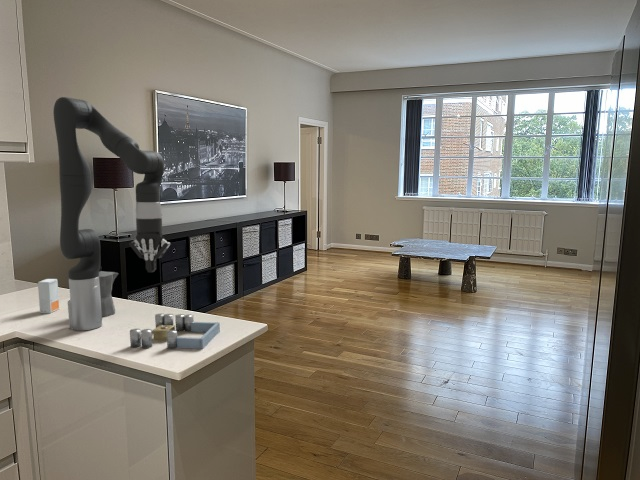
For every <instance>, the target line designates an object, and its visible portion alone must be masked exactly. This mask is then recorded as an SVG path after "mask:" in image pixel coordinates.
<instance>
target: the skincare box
mask: <svg viewBox="0 0 640 480" xmlns="http://www.w3.org/2000/svg"><path fill="white" fill-rule="evenodd" d="M37 288H38V289H37V290H38V303H39V313H40V314H51V313H54V312H55V311H58V310H60V299H59V297H60V296H59V283H58V278H45V279H43V280H41V281H38V282H37Z"/></svg>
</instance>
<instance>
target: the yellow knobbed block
mask: <svg viewBox="0 0 640 480" xmlns="http://www.w3.org/2000/svg"><path fill="white" fill-rule="evenodd" d="M169 330H176V324H175V325H159V326H158V327H157V328H156V327H155V328H154V329H153V330H152V333H153V334H152V336H153V341H155V342H157V341H158V342H159V341H160V342H162V341H163V342H165V341H166V342H167V331H169Z"/></svg>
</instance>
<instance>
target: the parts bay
mask: <svg viewBox="0 0 640 480" xmlns="http://www.w3.org/2000/svg"><path fill="white" fill-rule="evenodd" d="M220 325H221V324H220V322H213V321H194V322H191V332H195V333H196V332H198V333H199V332H200V333H204V334H203V335H202V336H201V337H187V336H185V337H184V336H177V348H178V349H198V350H199V349H200V350H203V349H205V348H206V346H207V345H208V344H209V343H210V342H211V341H212V340H213V339H214V338H215V337H216V336H217V335H218V334H219V333H220V332H221V331H220V327H221V326H220ZM177 348H176V349H177Z"/></svg>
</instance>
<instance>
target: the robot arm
mask: <svg viewBox="0 0 640 480" xmlns="http://www.w3.org/2000/svg"><path fill="white" fill-rule="evenodd" d="M53 105H54V106H53V114H52V115H53V122H54V128H55V134H56V136H55V137H56V141H57V143H56V144H57V151H58V165H59V169H58V172H59V176H58V177H59V191H60V211H61V212H60V231H59V233H60V234H59V247H60V251H61V253H62V255H63V256H64V258H66V259H68V260H75V259H79V261H78V262H77V264H75V266H73V267H71V268H70V269H69V270H68V273H67V274H68V275H67V276H68V287H69V289H68V290H69V297H70V299H69V300H67V311H68V313H67V315H68V327H69V329H71V330H75V331H88V330H89V331H90V330H95V329H98V328H100V327H102V326H103V317H102V312H101V297H100V282H99V270H100V266H101V240H100V237H99V235H98V233H97V232H96V231H95V230H94V229H92V228H84V229H79V223H80V217H81V214H82V211H83V209H84V207H85V206H86V204H87V203H88V199H89V197H90V195H91V194H92V189H93V187H92V186H93V185H92V171H91V168H90V165H89V163H88V161H87V159H86V158H85V156H84V154H83V152H82V151H81V149H80V147H79V145H78V144H79V143H78V139H77V129H78V130H81V129H82V130H87V131H89V132H91V133H94V134H95V135H96V136H97V137H99V139H100V141H101V143H102V145H103V147H104V148H106V149H107V150H108V151H109V152H111V153H112V154H114V155H115V156H117V157H118V158H120V159H121V161H122V162H123V163H124V165H125V166H126V168H128V169H129V170H130V171H131V172H133V173H134V174H138V175H144V177H143V180H142V181H141V182H138V183H137V184H136V185H135V223H136V225H135V226H136V235H135V239H134V240H133V241H131V242H129V246H130V248H131V249H132V250H133V251H134V253H135V254H136V255H137V256H138V258H139V259H143V260H144V261H145V270H146V271H147V273H154V272H155V271H156V270H157V259H161V258H163V256H164V254H165V253H166V252H167V250H168V249H169V247H170V246H171V245H172V243H171V242H170V241H167V240H166V239H165V236H164V234H163V217H162V216H163V210H162V205H161V190H160V189H161V184H162V180H163V175H164V170H165V161H164V159H163V158H164V157H162V155H161V153H159V152H157V151H155V150H141V149H140V145H139V144H138V142H137V141H136V140H134V139H133V138H132V137H131V136H129V135H128V134H126V133H125V132H123V131H122V130H120V129H119V128H117V127H116V126H114V124H112V123H111V121H109V120H108V119H107V118H106V117H105V116H104V115H103V114H102V113H101V112H100V111H98V109H97V108H95V107H94V106H93V104H91V103H90V102H89V101H87V100H84V99H78V98H72V97H65V96H64V97H63V96H62V97H58V99H56V101H55V102H54V104H53ZM160 246H161V247H160ZM159 247H160V248H159Z"/></svg>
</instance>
